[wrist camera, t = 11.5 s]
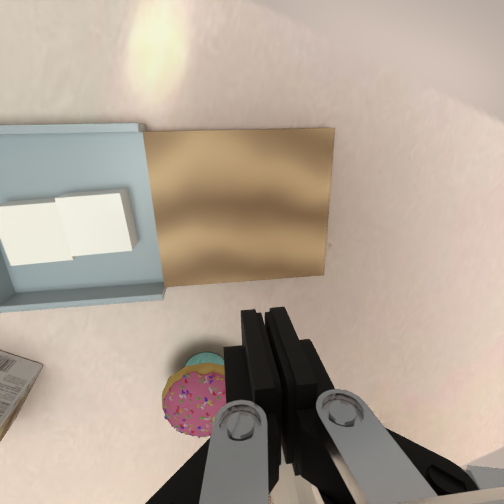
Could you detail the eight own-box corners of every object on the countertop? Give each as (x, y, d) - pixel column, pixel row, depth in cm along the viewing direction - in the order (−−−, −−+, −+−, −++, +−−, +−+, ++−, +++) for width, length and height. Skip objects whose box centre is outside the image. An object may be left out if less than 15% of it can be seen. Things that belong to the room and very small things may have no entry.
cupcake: (236, 333, 34) (248, 428, 23) (245, 389, 38) (260, 496, 26) (160, 346, 34) (135, 451, 23) (176, 402, 37) (161, 518, 26)
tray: (167, 284, 31) (163, 299, 28) (13, 296, 29) (-7, 313, 27) (145, 124, 25) (137, 123, 23) (-46, 127, 24) (-80, 126, 21)
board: (318, 268, 33) (323, 275, 31) (166, 279, 31) (164, 287, 29) (328, 128, 27) (335, 127, 26) (146, 131, 26) (142, 131, 24)
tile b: (84, 249, 28) (73, 259, 26) (26, 255, 28) (10, 265, 25) (68, 196, 26) (55, 202, 24) (7, 201, 26) (-12, 207, 24)
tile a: (138, 241, 29) (132, 250, 26) (83, 246, 28) (72, 256, 26) (127, 188, 27) (119, 193, 24) (67, 192, 26) (54, 198, 24)
